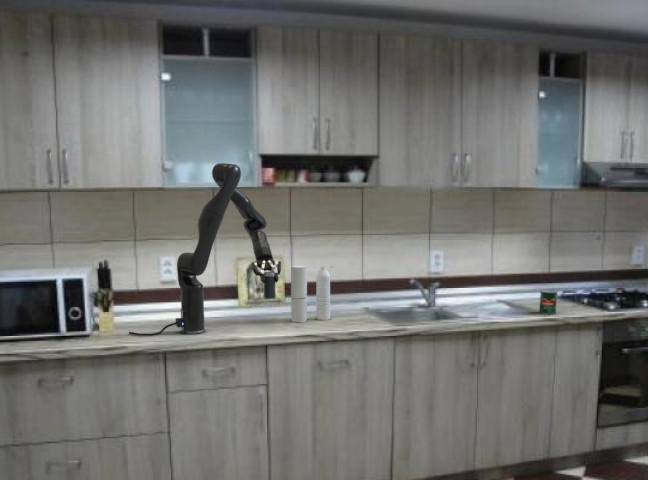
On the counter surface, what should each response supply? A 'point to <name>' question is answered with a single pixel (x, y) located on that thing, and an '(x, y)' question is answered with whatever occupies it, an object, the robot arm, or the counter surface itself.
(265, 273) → the salt shaker
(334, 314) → the counter surface
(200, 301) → the robot arm
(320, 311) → the water bottle
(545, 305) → the canned tomato
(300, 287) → the cylindrical container
